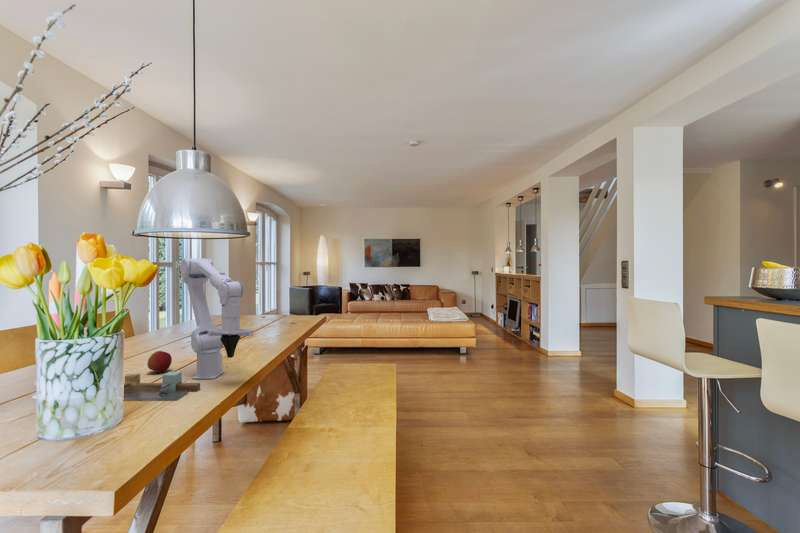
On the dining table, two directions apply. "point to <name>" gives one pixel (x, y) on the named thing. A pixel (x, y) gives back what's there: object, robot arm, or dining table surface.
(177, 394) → the flange plate
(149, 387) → the trammel rail
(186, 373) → the dining table surface
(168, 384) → the carriage
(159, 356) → the apple
